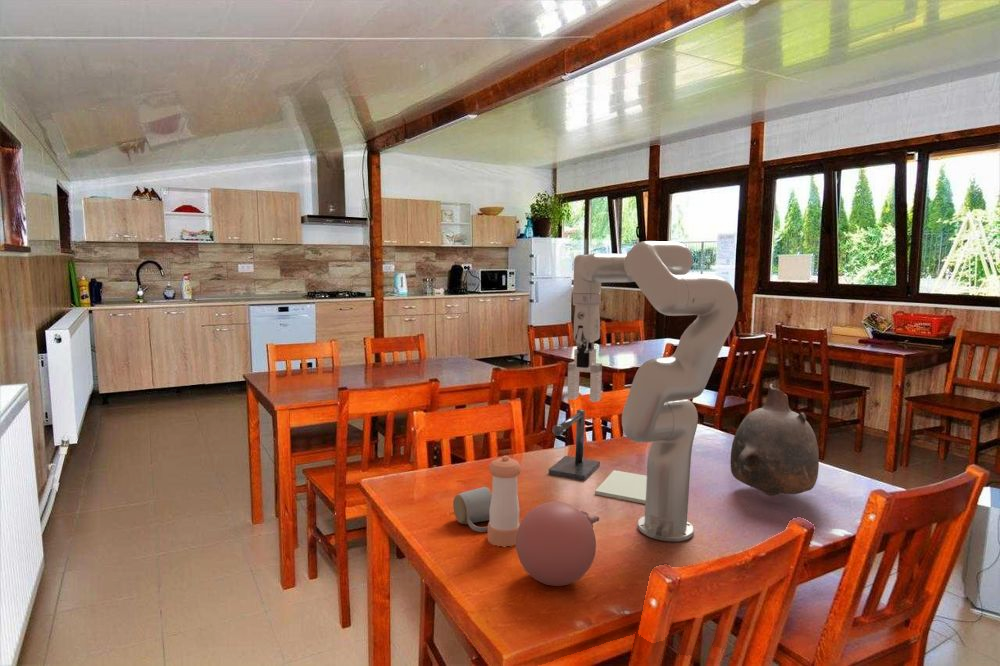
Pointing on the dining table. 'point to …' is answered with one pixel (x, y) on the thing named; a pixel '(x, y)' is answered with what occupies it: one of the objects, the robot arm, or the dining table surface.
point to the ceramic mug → (473, 507)
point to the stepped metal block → (594, 379)
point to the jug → (775, 449)
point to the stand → (577, 464)
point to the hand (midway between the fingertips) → (585, 365)
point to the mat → (624, 486)
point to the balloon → (556, 543)
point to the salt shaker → (504, 502)
